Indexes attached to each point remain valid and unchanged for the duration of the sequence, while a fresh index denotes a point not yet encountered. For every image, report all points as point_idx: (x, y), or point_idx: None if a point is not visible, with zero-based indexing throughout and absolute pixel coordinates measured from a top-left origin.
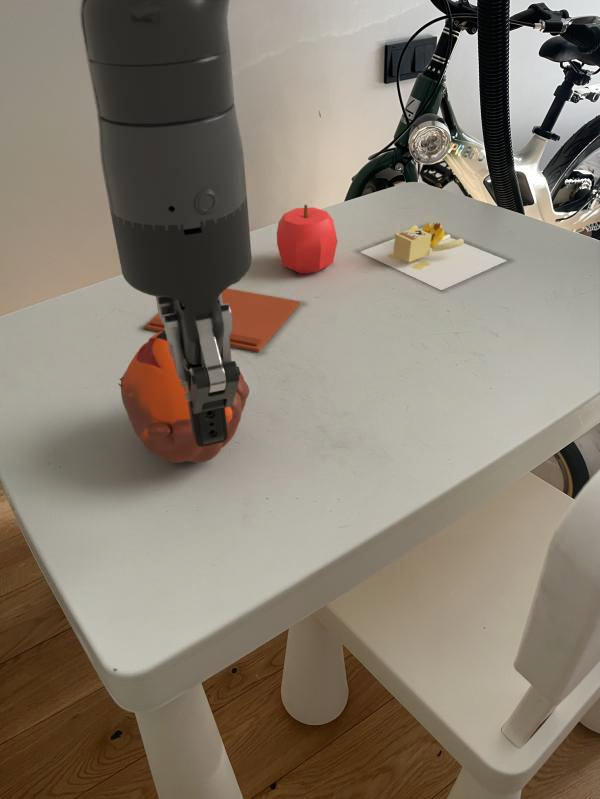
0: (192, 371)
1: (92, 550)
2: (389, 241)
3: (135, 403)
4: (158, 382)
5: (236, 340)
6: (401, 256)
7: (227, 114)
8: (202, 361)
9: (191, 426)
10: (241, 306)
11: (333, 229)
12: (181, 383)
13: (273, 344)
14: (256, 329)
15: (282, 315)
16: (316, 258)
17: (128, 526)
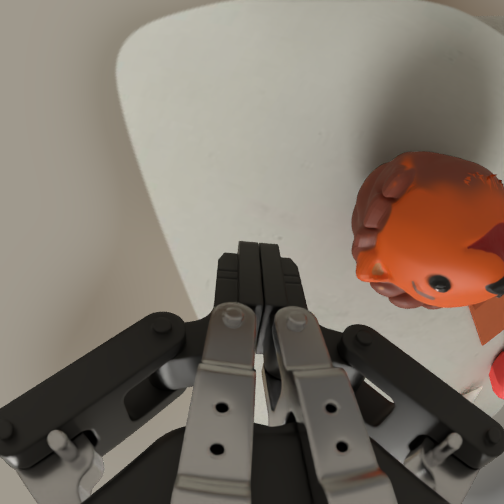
0: (14, 450)
1: (299, 36)
2: (473, 400)
3: (452, 177)
4: (450, 230)
5: None
6: None
7: None
8: (64, 473)
9: (277, 251)
10: None
11: (499, 396)
12: (292, 320)
13: (464, 314)
14: (486, 309)
15: (482, 331)
16: (497, 372)
17: (318, 84)
